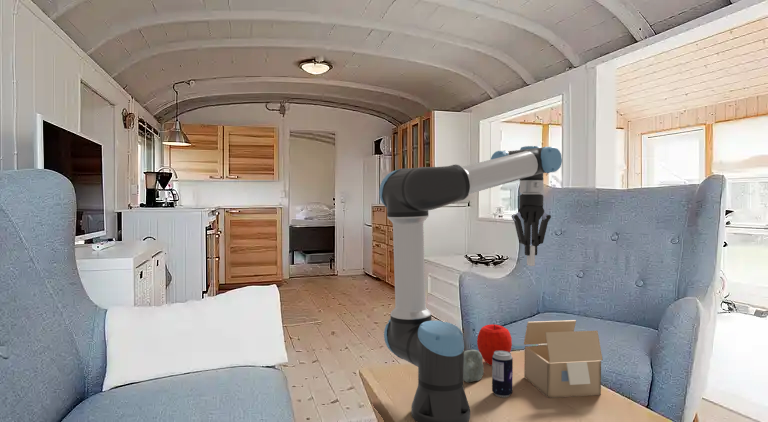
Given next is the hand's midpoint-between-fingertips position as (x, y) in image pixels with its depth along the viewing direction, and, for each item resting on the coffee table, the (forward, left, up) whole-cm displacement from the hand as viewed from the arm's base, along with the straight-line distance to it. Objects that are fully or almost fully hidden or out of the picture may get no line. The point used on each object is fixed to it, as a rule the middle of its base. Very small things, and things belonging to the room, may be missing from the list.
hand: (530, 265), depth 160 cm
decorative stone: (-23, -4, -35) cm, 42 cm away
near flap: (+3, -23, -23) cm, 33 cm away
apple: (-10, +6, -35) cm, 37 cm away
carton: (+3, -15, -34) cm, 38 cm away
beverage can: (-17, -19, -35) cm, 43 cm away
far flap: (+3, -7, -23) cm, 24 cm away
